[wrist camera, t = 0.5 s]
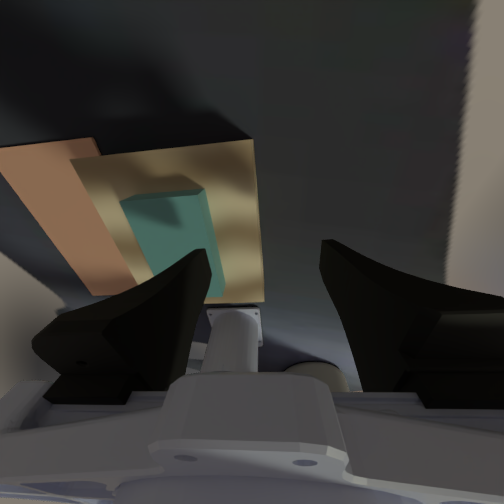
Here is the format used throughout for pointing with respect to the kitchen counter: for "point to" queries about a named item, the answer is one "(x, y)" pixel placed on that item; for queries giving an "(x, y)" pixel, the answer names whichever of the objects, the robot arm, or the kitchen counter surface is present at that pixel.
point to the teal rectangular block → (175, 230)
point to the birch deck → (187, 178)
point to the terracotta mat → (67, 210)
